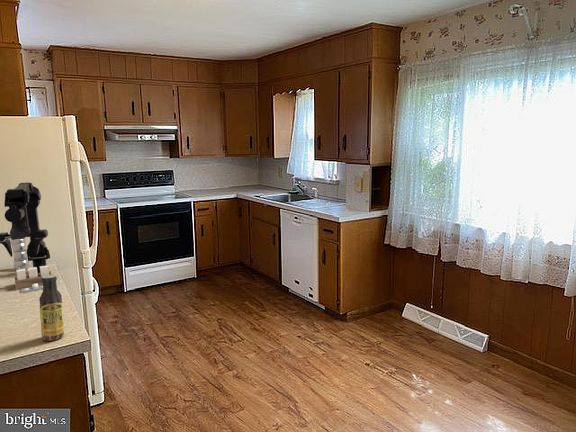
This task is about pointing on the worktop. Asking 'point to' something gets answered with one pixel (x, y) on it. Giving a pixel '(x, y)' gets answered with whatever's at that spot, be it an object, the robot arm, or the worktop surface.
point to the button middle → (33, 272)
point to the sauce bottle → (51, 310)
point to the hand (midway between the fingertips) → (24, 255)
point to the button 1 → (21, 274)
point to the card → (32, 288)
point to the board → (29, 281)
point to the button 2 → (44, 270)
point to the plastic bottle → (20, 254)
